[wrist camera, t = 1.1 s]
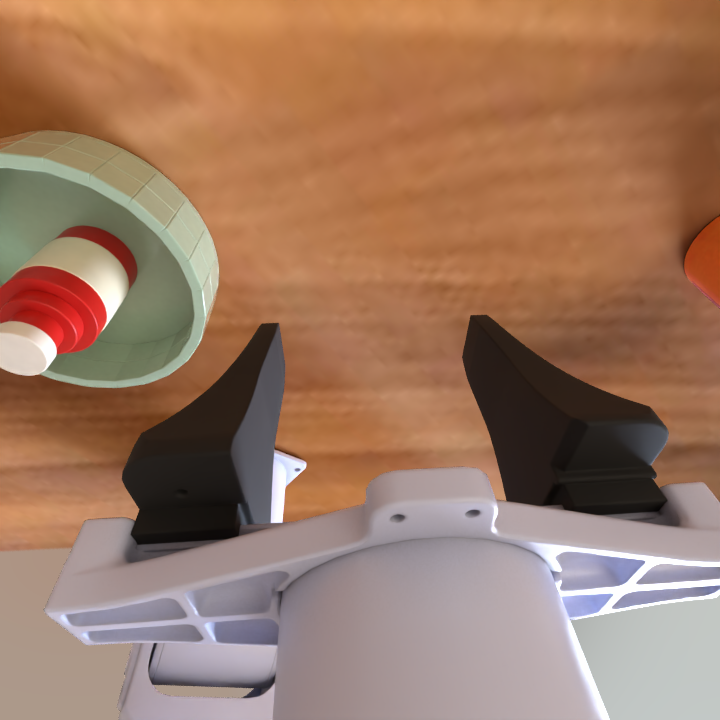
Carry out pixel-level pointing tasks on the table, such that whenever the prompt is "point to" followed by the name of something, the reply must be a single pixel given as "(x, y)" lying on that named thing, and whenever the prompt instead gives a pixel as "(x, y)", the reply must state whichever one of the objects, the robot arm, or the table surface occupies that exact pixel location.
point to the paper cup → (705, 261)
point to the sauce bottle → (63, 298)
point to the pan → (133, 227)
